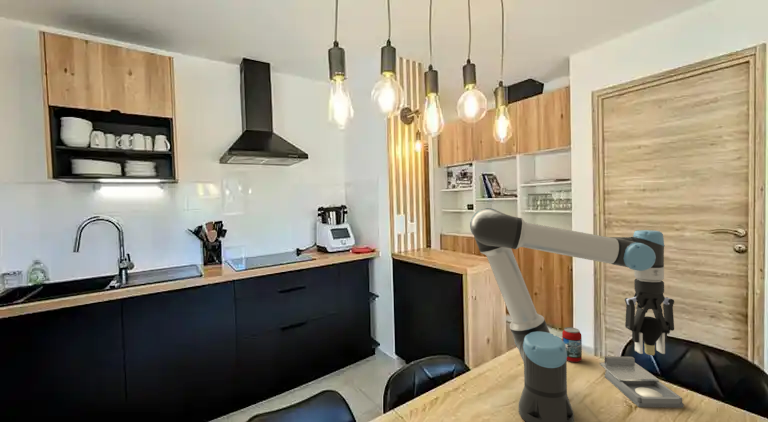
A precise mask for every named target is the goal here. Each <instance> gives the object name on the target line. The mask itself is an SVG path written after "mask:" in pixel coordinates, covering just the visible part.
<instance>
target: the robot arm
mask: <svg viewBox="0 0 768 422" xmlns="http://www.w3.org/2000/svg"><path fill="white" fill-rule="evenodd" d="M469 227H470V231H471V234H472V235H473V238H474V240H475V243H476V245H477V248H478V250H479V253H480V254H482V255H485V256H486V258H487V261H488V264H489V265H490V268H491V271H492V273H493V276H494V278H495V281H496V284H497V286H498V288H499V292H500V294H501V297H502V299H503V302H504V304H505V307H506V309H507V312H508V315H509V317H510V319H511V321H510V323H509V330H510V331H511V332H510V333H511V334H512V336H513V340H514V343H515V346H516V348H517V350H518V352H519V355H520V356H521V357H520V358H521V360H522V362H523V377H524V378H523V379H524V380H523V383H524V384H523V385H524V386H523V390H522V393H521V395H520V398H519V401H518V413H519V416H520V417H521V418H522V420H524V421H525V422H575V413H574V411H573V410H574V409H573V408H572V405H571V402H570V399H569V396H568V376H567V375H568V374H567V373H568V372H567V371H568V370H567V369H568V368H567V367H568V366H567V351H566V346H565V343H564V342H563V340H562V338H561V337H559V335H554V334H553V333H551V331H550V330H549V327H548V324H547V322H546V319H545V317H544V316H543V315H542V314H540V313H537V309H536V306H535V305H534V302H533V300H532V297H531V295H530V292H529V290H528V287H527V285H526V282H525V278H524V276H523V274H522V272H521V270H520V267H519V264H518V262H517V259H516V257H515V255H514V252H513V250H517V249H519V248H526V249H529V250H535V251H541V252H546V253H550V254H551V253H552V254H557V255H562V256H567V257H572V258H578V259H583V260H588V261H593V262H600V263H603V264H609V265H613V266H614V265H615V266H620V267H625V268H629V269H630V270H633V271H634V272H633V276H634V278H635V279H634V286H633V287H634V295H633V297H630V298H629V297H625V298H624V301H625V305H626V306H625V321H624V322H625V325H624V327H625V329H628V330H629V331H631V336H632V337H631V340H632V341H633V342H634V352H637V353H638V354H640V355H643V354H644V350H643V349H644V348H643V346H644V343H643V342H644V340H643V333H641V332H640V329H641V326H642V323H643V320H644V317H645V316H646V314H647V313H648V311H649V310H651V311H652V312H653V315H654V316H653V317H654V318H656V319H657V320H659V321H660V322H661V324H662V326H663V331H662V334H661V336H660V337H659V339H658V340H657V341H656V343H655V351H657V352H659V353H660V354H662V355H665V354H666V343H667V342H668V335H669V334H670V333H671V332H672V331H675V321H674V319H675V318H674V305H675V299H673V298H670V297H667V296H666V297H665V295H664V293H665V282H664V280H665V260H664V259H665V247H666V246H665V238H664V234H663V232H661V231H660V230H653V229H652V230H651V229H649V230H648V229H640V230H635V231H634V232H633V235H632V236H627V237H626V236H625V237H623V236H619V237H618V236H613V237H612V236H603V235H598V234H592V233H587V232H583V231H582V232H581V231H574V230H570V229H565V228H558V227H555V226H547V225H542V224H538V223H537V224H536V223H531V222H526V221H525V220H524V219H523V218H521V217H517V216H513V215H509V214H506V213H503V212H501V211H500V210H497V209H494V208H488V207H487V208H484V209H483V208H482V209H480V210H478V211H476V212H475V213H474V214H473V216H472V217H471V219H470V222H469ZM636 303H637V305H636ZM635 305H636V306H635ZM662 306H663V307H662Z"/></svg>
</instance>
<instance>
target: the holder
mask: <svg viewBox="0 0 768 422" xmlns="http://www.w3.org/2000/svg"><path fill="white" fill-rule="evenodd" d="M604 371H605V373H604V378H605V379H606V380H608V381H609V382H610V383H611V384H612V386H614V387H616V388H617V389H618V390H619V391H620V392H621V393H622V394H623V395H625V396H626V398H628V400H630V401H631V402H632V403H633V404H634V405H635V406H637V407H638V408H672V409H673V408H679V409H680V408H681V409H683V408H684V402H683V397H681V396H680V395H679V394H677V393H676V392H675V391H673V390H672V389H670V388H669V387H667V386H666V385H665V384H664V383H662V382H661V381H660V380H659V381H619V380H618V379H616V378H615V377H614V376H613V375H612V374H611V373H609V372H608V371H607V370H606V369H605V370H604Z"/></svg>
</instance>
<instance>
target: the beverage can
mask: <svg viewBox="0 0 768 422" xmlns="http://www.w3.org/2000/svg"><path fill="white" fill-rule="evenodd" d="M561 339H562V340H563V342H564V343H565V346H566V351H567V361H568V362H571V363H578V362H581V361H582V358H583V356H582V354H583V353H582V350H583V347H582V346H583V344H582V342H583V340H582V333H581V332H580V330H579V329H578V328H576V327H571V326H569V327H568V326H567V327H564V329H563V330H562V333H561Z"/></svg>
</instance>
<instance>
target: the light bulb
mask: <svg viewBox="0 0 768 422" xmlns="http://www.w3.org/2000/svg"><path fill="white" fill-rule="evenodd" d="M662 331H663V326H662V324H661V322H660V321H659V320H657V319H656V318H655V317H654V316H648V315H647V316H646V315H645V317H644V320H643V323H642V326H641V329H640V332H641V333H643V342H644V343H643V346H644V353H645V354H646V355H648V356H655V354H656V341H657V340H658V339H659V337H660V336H661V334H662Z"/></svg>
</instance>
